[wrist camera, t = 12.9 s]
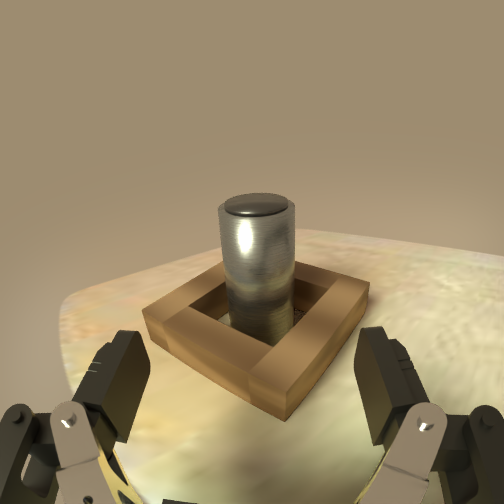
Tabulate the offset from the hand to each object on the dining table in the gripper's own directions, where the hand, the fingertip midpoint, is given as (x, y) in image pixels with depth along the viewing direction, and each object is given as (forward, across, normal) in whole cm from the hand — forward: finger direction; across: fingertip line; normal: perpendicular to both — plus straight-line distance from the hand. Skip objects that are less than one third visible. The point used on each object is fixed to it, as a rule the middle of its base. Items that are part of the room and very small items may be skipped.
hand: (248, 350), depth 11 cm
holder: (+11, 0, +8) cm, 14 cm away
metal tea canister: (+11, 0, +8) cm, 14 cm away
